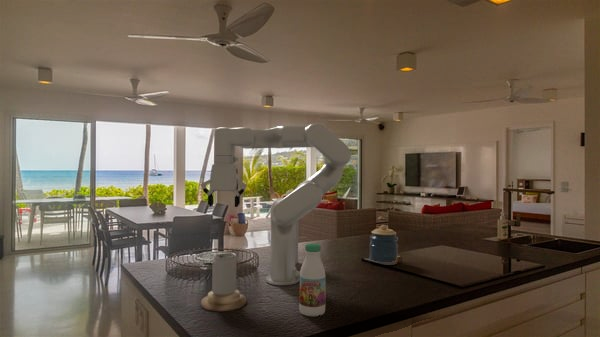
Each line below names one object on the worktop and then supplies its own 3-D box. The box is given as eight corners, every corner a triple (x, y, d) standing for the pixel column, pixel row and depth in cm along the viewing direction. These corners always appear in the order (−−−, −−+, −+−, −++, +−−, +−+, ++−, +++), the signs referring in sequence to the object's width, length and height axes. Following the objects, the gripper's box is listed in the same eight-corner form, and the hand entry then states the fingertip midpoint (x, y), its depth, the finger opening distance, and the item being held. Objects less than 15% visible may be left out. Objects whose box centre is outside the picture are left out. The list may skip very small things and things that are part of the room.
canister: (401, 267, 164) (401, 227, 164) (371, 266, 164) (372, 226, 164) (394, 259, 177) (394, 223, 177) (367, 259, 177) (367, 222, 177)
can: (223, 287, 122) (224, 251, 122) (241, 292, 118) (241, 254, 118) (206, 294, 116) (207, 255, 116) (224, 298, 112) (224, 259, 112)
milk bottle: (298, 307, 114) (299, 242, 114) (323, 306, 114) (323, 242, 114) (300, 317, 106) (301, 247, 106) (327, 316, 107) (327, 247, 107)
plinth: (250, 296, 123) (250, 287, 123) (241, 312, 109) (241, 301, 109) (208, 294, 124) (208, 285, 124) (194, 310, 110) (194, 300, 110)
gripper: (249, 161, 141) (248, 206, 141) (204, 160, 142) (204, 205, 142) (245, 160, 134) (244, 207, 134) (198, 160, 135) (197, 207, 135)
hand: (223, 206), depth 138 cm, fingers open, 9 cm apart
